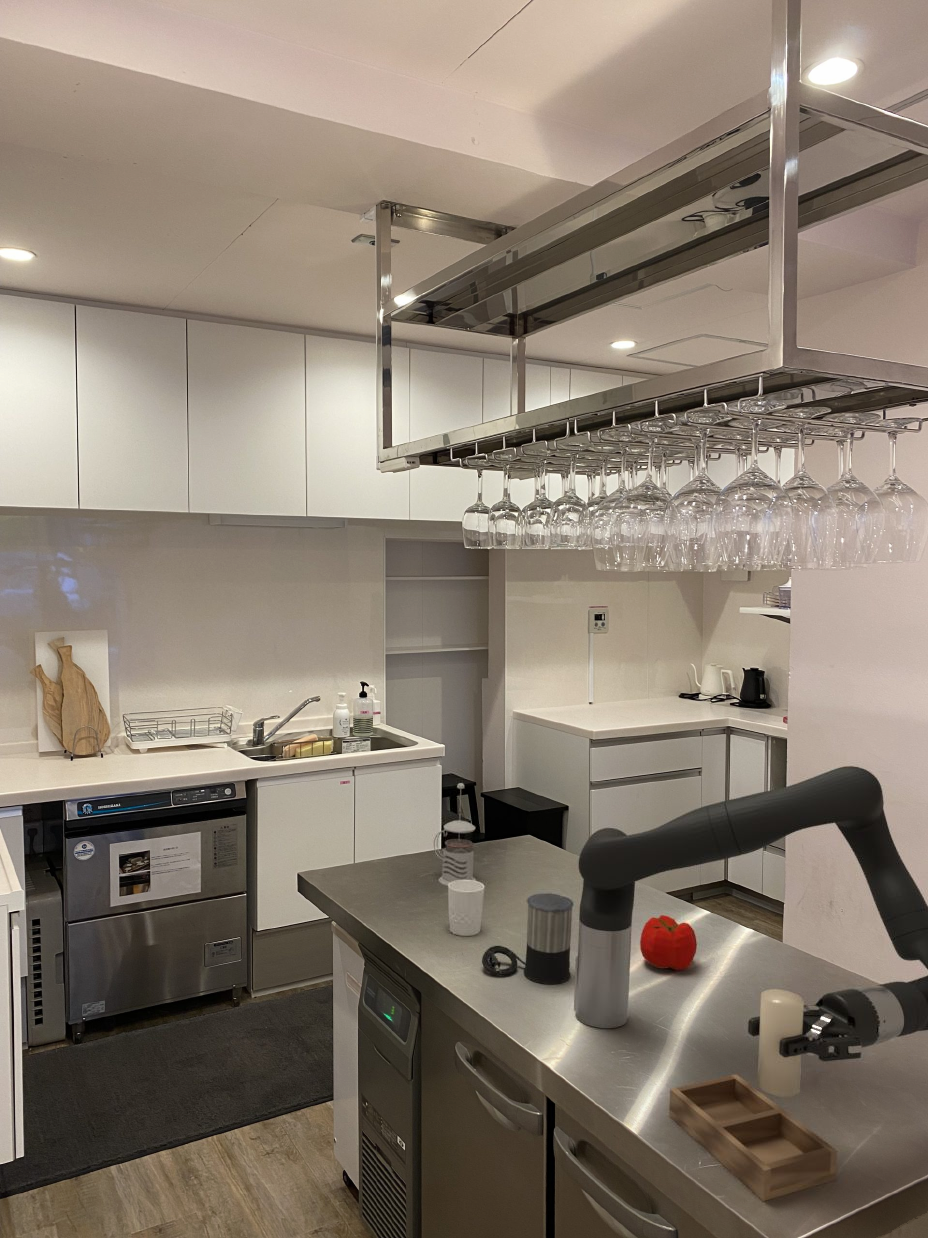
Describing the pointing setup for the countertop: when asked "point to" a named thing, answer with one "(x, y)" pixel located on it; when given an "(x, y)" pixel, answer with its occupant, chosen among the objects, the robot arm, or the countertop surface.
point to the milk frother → (541, 941)
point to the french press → (459, 870)
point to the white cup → (465, 906)
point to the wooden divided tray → (753, 1136)
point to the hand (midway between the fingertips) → (765, 1038)
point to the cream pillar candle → (776, 1023)
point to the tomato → (668, 943)
